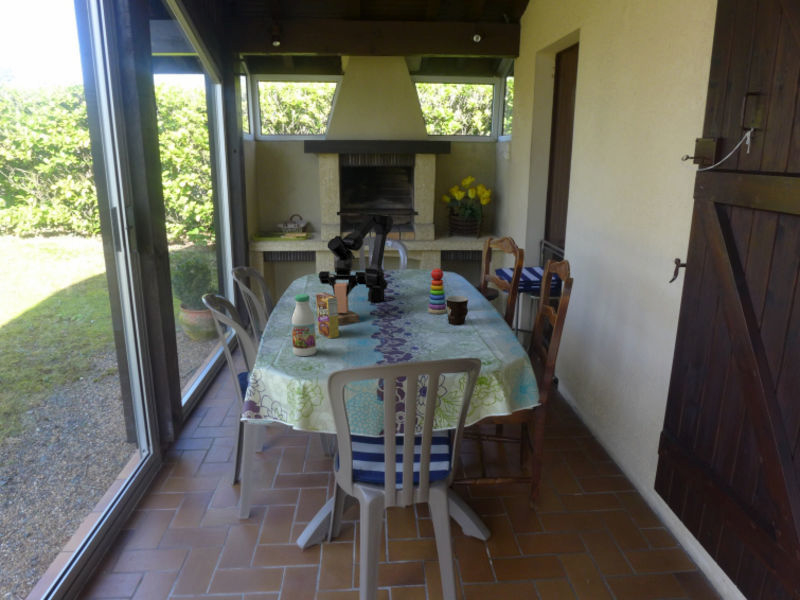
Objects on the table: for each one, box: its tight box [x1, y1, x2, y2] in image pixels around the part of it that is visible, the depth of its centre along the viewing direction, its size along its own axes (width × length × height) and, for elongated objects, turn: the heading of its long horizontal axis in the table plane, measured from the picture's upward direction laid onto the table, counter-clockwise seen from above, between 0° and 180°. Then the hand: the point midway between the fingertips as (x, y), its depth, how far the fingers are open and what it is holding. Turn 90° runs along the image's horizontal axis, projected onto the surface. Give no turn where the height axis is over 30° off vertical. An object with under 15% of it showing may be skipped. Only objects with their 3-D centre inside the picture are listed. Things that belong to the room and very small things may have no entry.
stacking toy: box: [427, 268, 447, 315], centre depth 232 cm, size 8×8×19 cm
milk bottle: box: [291, 293, 317, 357], centre depth 185 cm, size 8×8×20 cm
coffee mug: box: [445, 295, 469, 326], centre depth 217 cm, size 12×9×10 cm
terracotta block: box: [334, 282, 350, 313], centre depth 220 cm, size 4×4×11 cm
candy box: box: [315, 292, 340, 339], centre depth 204 cm, size 9×4×15 cm, turn 37°
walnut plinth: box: [338, 309, 360, 327], centre depth 222 cm, size 10×10×3 cm
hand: (340, 295), depth 219 cm, fingers closed on terracotta block, 4 cm apart
